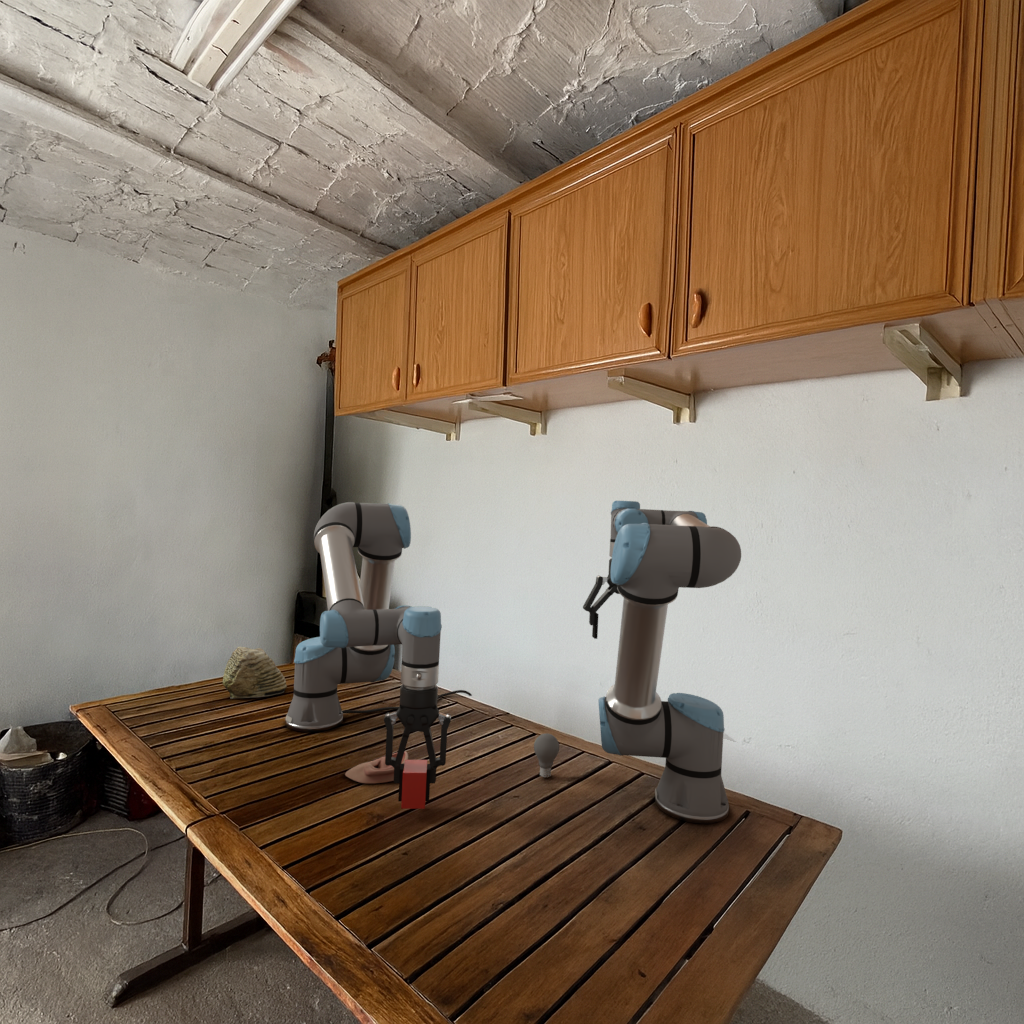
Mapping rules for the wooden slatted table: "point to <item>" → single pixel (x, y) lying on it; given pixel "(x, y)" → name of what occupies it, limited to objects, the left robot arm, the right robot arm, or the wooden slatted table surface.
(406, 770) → the block
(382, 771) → the anatomical model
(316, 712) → the left robot arm
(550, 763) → the light bulb
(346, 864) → the wooden slatted table surface
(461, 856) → the wooden slatted table surface
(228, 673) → the fossil
